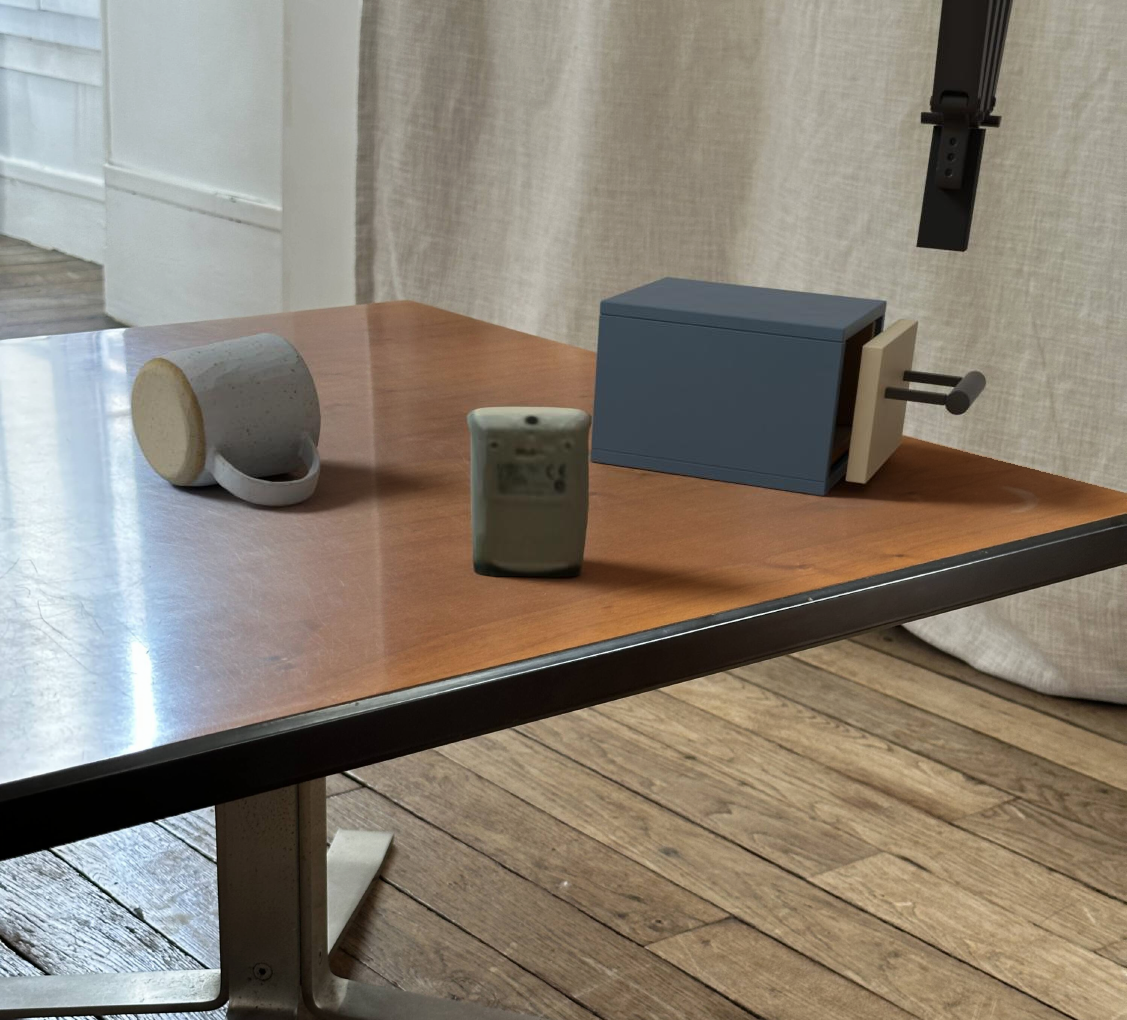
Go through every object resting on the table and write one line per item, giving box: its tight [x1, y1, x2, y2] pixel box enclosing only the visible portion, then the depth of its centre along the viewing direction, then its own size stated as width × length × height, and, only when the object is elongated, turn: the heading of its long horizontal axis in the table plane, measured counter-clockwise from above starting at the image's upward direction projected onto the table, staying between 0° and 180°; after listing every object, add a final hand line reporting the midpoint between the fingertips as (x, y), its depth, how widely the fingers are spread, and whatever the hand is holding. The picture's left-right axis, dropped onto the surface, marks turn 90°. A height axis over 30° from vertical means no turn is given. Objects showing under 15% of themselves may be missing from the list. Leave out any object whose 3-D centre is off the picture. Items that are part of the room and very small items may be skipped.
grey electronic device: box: [466, 406, 593, 578], centre depth 75 cm, size 6×5×8 cm
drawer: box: [830, 318, 987, 485], centre depth 97 cm, size 18×11×8 cm, turn 69°
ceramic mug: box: [130, 332, 322, 507], centre depth 87 cm, size 11×8×8 cm
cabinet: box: [589, 276, 888, 497], centre depth 99 cm, size 15×13×10 cm
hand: (941, 247), depth 92 cm, fingers closed
